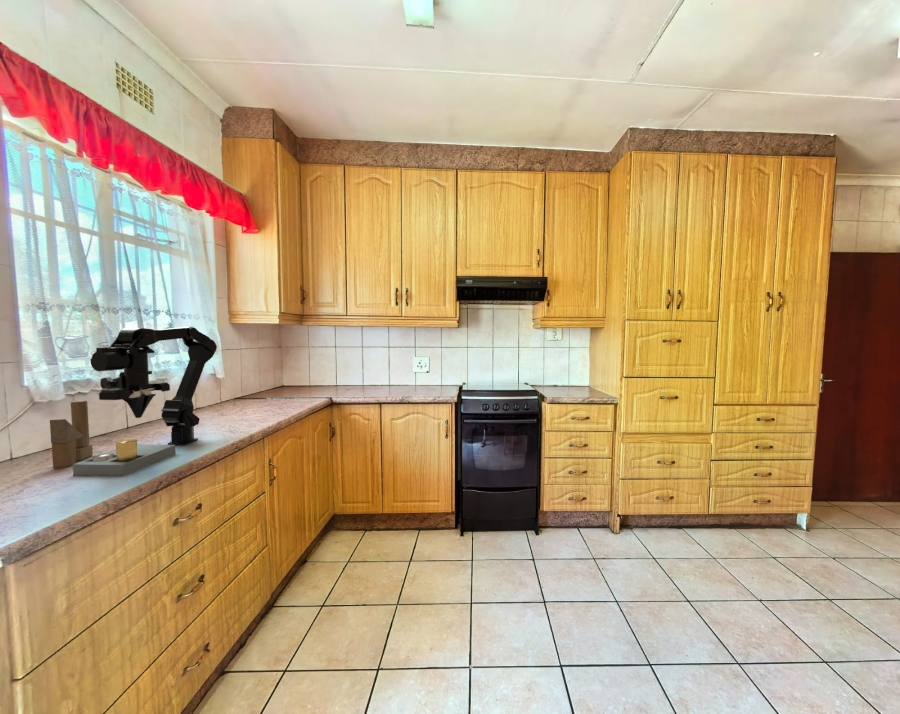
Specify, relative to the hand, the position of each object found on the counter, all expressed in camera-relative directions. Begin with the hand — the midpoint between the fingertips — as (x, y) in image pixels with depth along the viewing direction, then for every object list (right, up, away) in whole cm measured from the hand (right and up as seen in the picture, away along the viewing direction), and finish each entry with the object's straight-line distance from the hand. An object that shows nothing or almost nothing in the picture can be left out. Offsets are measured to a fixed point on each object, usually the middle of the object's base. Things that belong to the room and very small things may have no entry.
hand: (138, 417), depth 111 cm
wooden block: (-16, -13, -4) cm, 21 cm away
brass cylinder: (+5, -13, -9) cm, 17 cm away
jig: (+2, -13, -5) cm, 14 cm away
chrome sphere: (-2, -13, -9) cm, 16 cm away
